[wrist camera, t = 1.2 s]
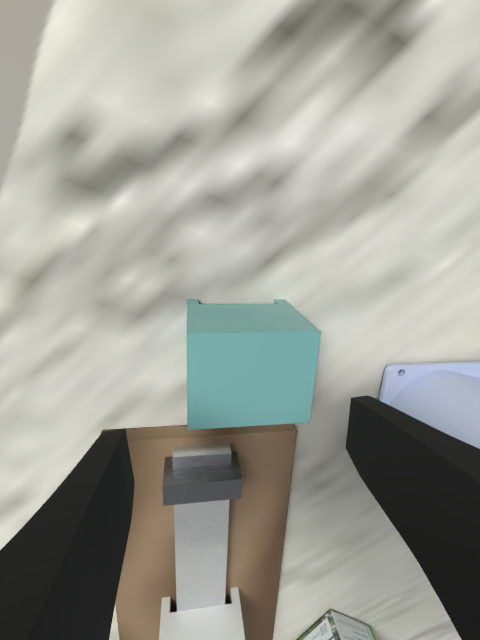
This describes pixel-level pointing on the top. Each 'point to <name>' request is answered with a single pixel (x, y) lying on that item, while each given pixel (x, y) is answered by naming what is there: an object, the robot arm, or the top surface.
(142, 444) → the mounting board
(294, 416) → the teal module
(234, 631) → the grey module
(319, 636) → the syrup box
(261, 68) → the top surface
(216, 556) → the steel rail
